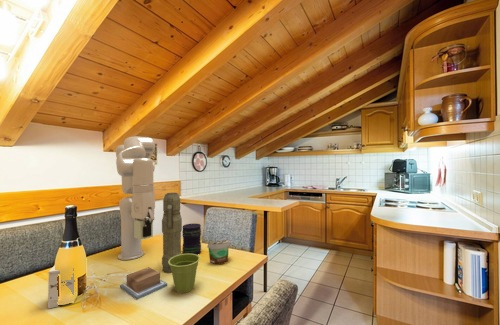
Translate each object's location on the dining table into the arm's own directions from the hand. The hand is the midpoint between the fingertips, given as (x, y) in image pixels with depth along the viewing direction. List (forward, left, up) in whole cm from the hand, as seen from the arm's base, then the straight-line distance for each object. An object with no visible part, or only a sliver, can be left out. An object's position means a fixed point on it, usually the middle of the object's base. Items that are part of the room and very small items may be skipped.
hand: (143, 234), depth 91 cm
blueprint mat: (0, 0, -20) cm, 20 cm away
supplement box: (-13, -22, -21) cm, 33 cm away
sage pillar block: (0, 0, -1) cm, 1 cm away
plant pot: (+14, +9, -21) cm, 26 cm away
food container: (+8, +35, -21) cm, 41 cm away
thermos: (-5, +16, -21) cm, 27 cm away
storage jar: (-14, +34, -21) cm, 42 cm away
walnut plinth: (0, 0, -20) cm, 20 cm away
